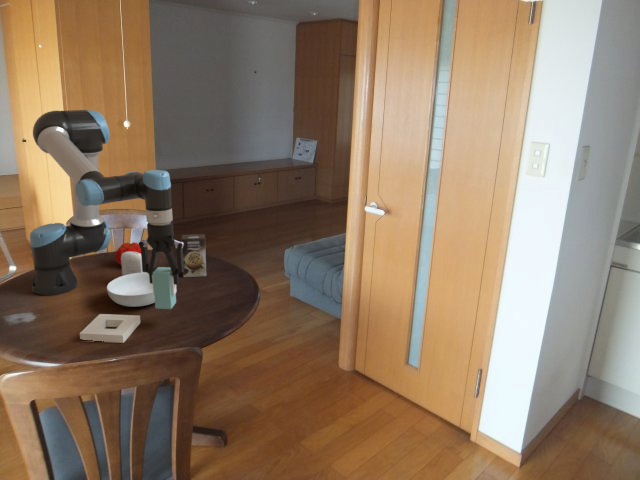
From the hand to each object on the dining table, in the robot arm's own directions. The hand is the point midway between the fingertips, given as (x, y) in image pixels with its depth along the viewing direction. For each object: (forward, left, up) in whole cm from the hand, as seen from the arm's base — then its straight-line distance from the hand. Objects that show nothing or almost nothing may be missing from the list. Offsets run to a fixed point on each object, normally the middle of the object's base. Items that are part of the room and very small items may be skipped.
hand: (165, 292), depth 156 cm
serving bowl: (-15, +16, -11) cm, 25 cm away
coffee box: (-3, +43, -11) cm, 45 cm away
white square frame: (-15, -7, -11) cm, 20 cm away
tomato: (-32, +50, -11) cm, 60 cm away
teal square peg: (0, 0, -4) cm, 4 cm away
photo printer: (-23, +32, -11) cm, 41 cm away
